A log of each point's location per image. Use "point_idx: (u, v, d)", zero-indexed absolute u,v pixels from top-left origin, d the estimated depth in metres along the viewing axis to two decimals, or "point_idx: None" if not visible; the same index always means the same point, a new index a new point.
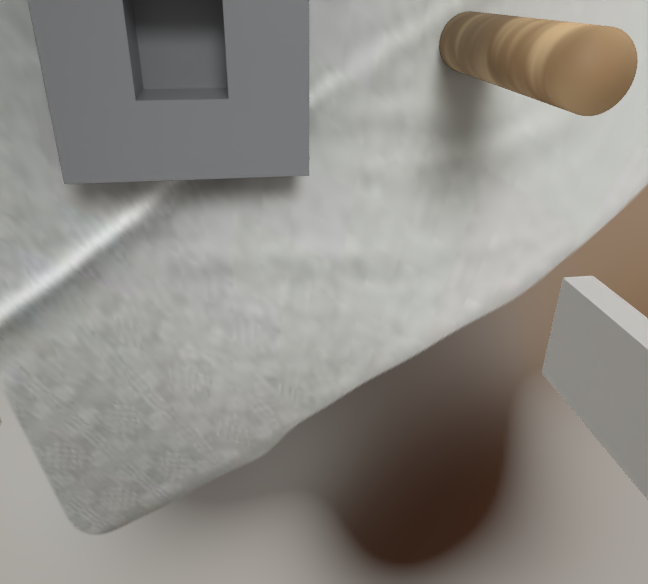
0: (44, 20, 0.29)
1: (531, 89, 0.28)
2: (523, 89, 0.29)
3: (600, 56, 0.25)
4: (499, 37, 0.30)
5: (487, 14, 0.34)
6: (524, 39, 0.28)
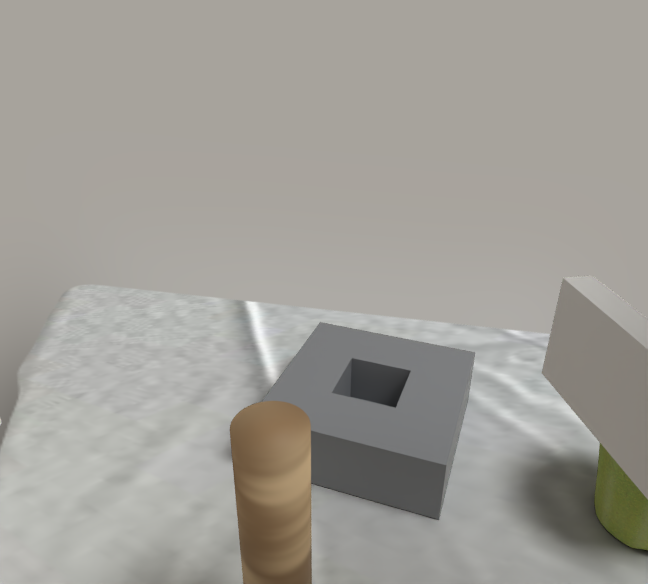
0: (409, 343, 0.51)
1: None
2: None
3: (283, 429, 0.26)
4: None
5: None
6: None
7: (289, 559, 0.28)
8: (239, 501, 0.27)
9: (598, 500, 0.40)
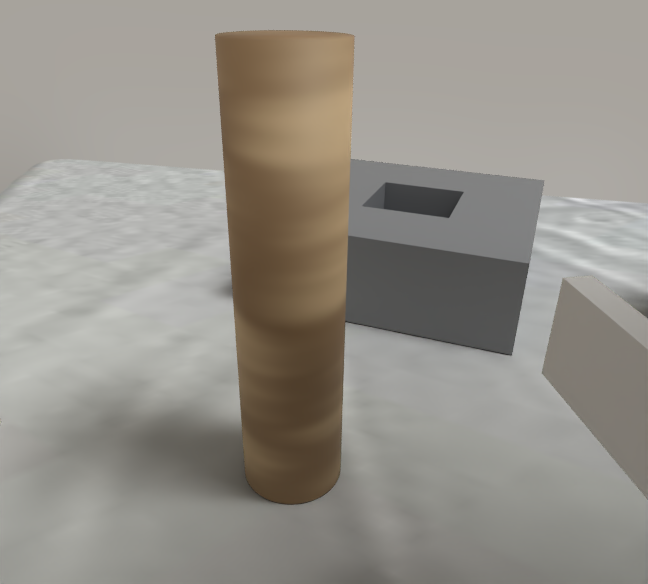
0: (457, 173, 0.40)
1: None
2: None
3: (307, 36, 0.15)
4: None
5: (342, 397, 0.20)
6: None
7: (313, 295, 0.17)
8: (231, 180, 0.16)
9: None
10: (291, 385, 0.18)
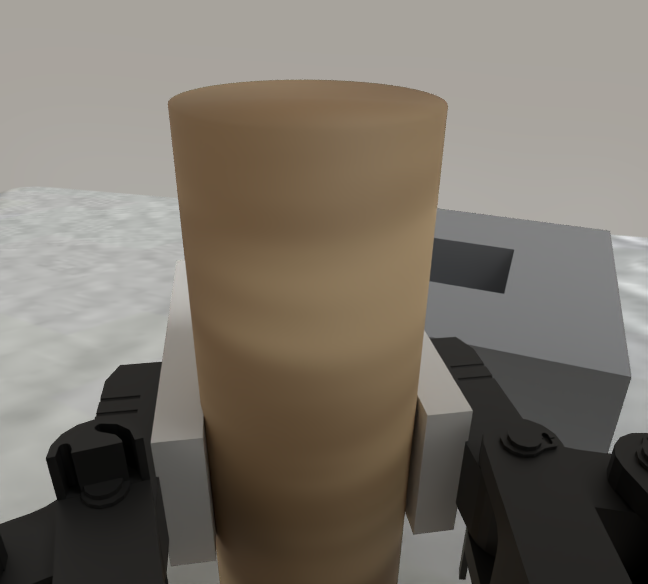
0: (500, 220, 0.32)
1: None
2: None
3: (354, 102, 0.08)
4: None
5: None
6: None
7: (356, 556, 0.09)
8: (204, 369, 0.08)
9: None
10: None
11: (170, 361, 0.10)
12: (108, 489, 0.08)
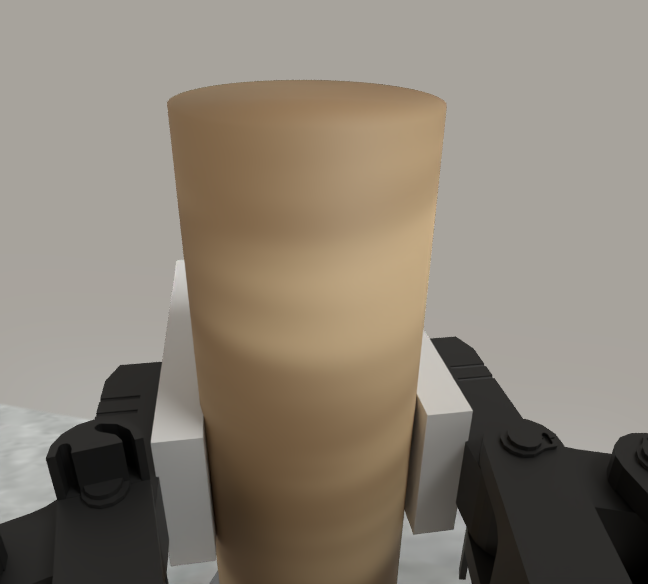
0: None
1: None
2: None
3: (352, 103, 0.08)
4: None
5: None
6: None
7: (356, 555, 0.09)
8: (204, 368, 0.08)
9: None
10: None
11: (170, 361, 0.10)
12: (107, 489, 0.08)
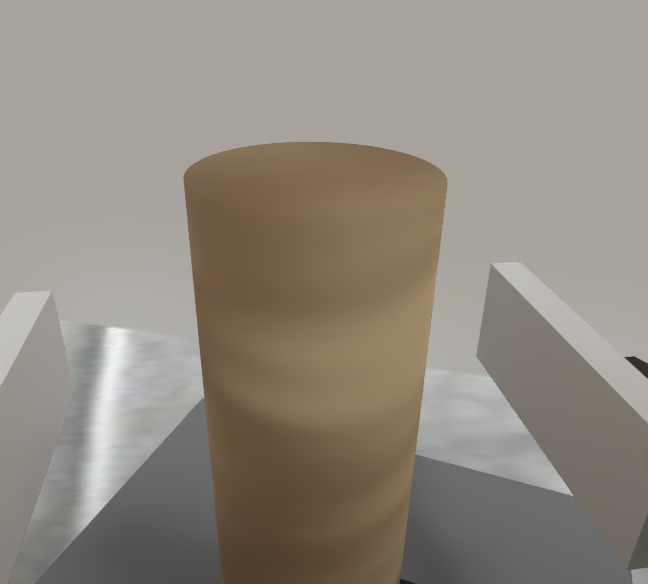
0: (430, 472, 0.18)
1: None
2: None
3: (359, 178, 0.08)
4: None
5: None
6: None
7: None
8: (214, 421, 0.09)
9: None
10: None
11: None
12: None
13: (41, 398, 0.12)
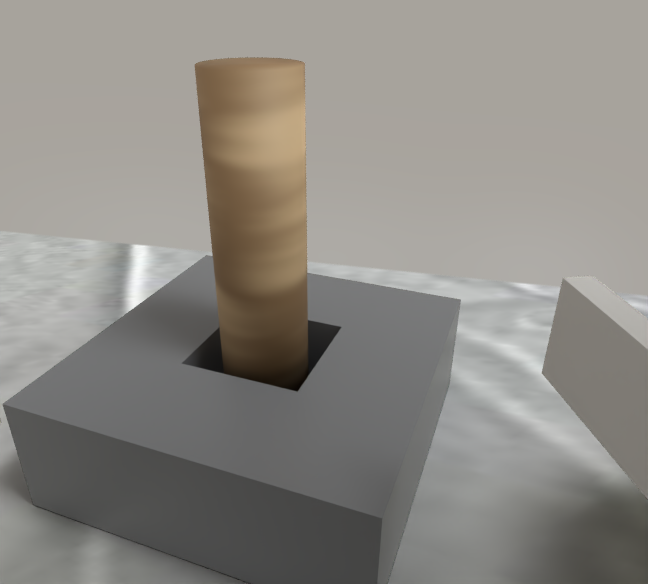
0: (347, 285, 0.29)
1: None
2: None
3: (267, 64, 0.19)
4: None
5: (307, 357, 0.24)
6: None
7: (278, 270, 0.21)
8: (209, 179, 0.20)
9: None
10: (262, 344, 0.22)
11: None
12: None
13: None
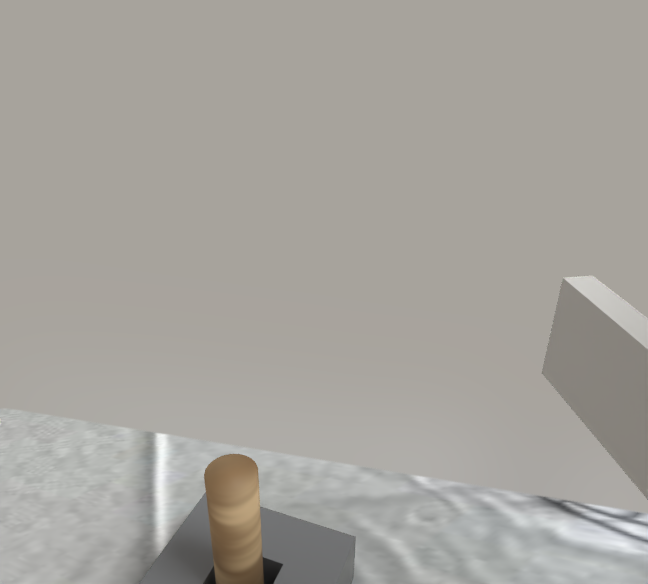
0: (290, 522, 0.50)
1: None
2: None
3: (239, 475, 0.40)
4: None
5: None
6: None
7: (245, 561, 0.41)
8: (210, 522, 0.40)
9: None
10: None
11: None
12: None
13: None
